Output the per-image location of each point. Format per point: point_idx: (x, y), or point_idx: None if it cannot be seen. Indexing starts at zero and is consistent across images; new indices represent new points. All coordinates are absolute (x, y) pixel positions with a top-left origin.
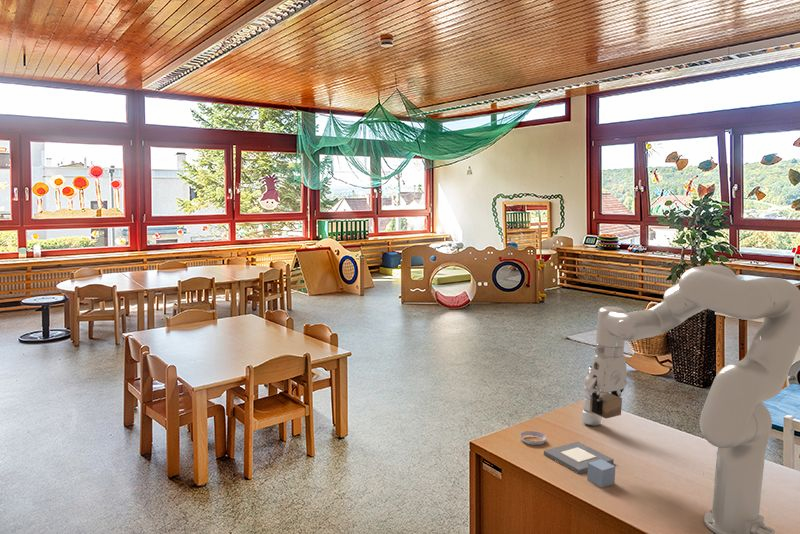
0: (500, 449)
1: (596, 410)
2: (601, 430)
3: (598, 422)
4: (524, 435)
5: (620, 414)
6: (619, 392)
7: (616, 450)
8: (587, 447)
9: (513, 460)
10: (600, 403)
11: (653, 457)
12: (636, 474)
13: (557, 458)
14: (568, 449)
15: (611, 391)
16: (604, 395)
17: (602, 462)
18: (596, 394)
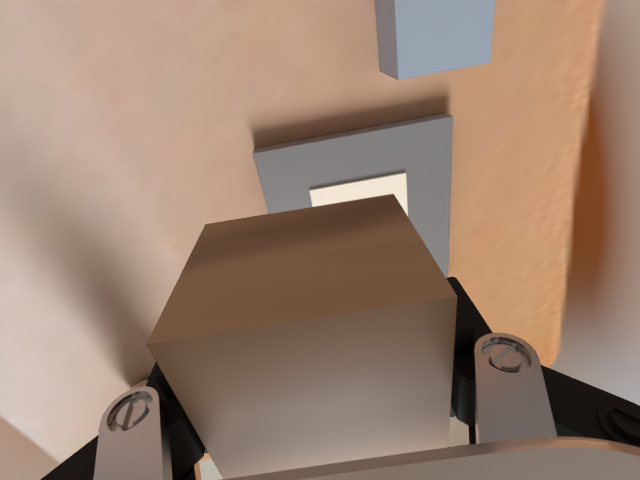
0: (529, 322)
1: (454, 280)
2: (149, 355)
3: (143, 385)
4: None
5: (209, 226)
6: (123, 451)
7: (178, 232)
8: None
9: (556, 260)
10: (465, 317)
11: (49, 142)
12: (217, 23)
13: (448, 221)
14: None
15: (383, 460)
16: (323, 434)
17: (422, 39)
18: (589, 433)
